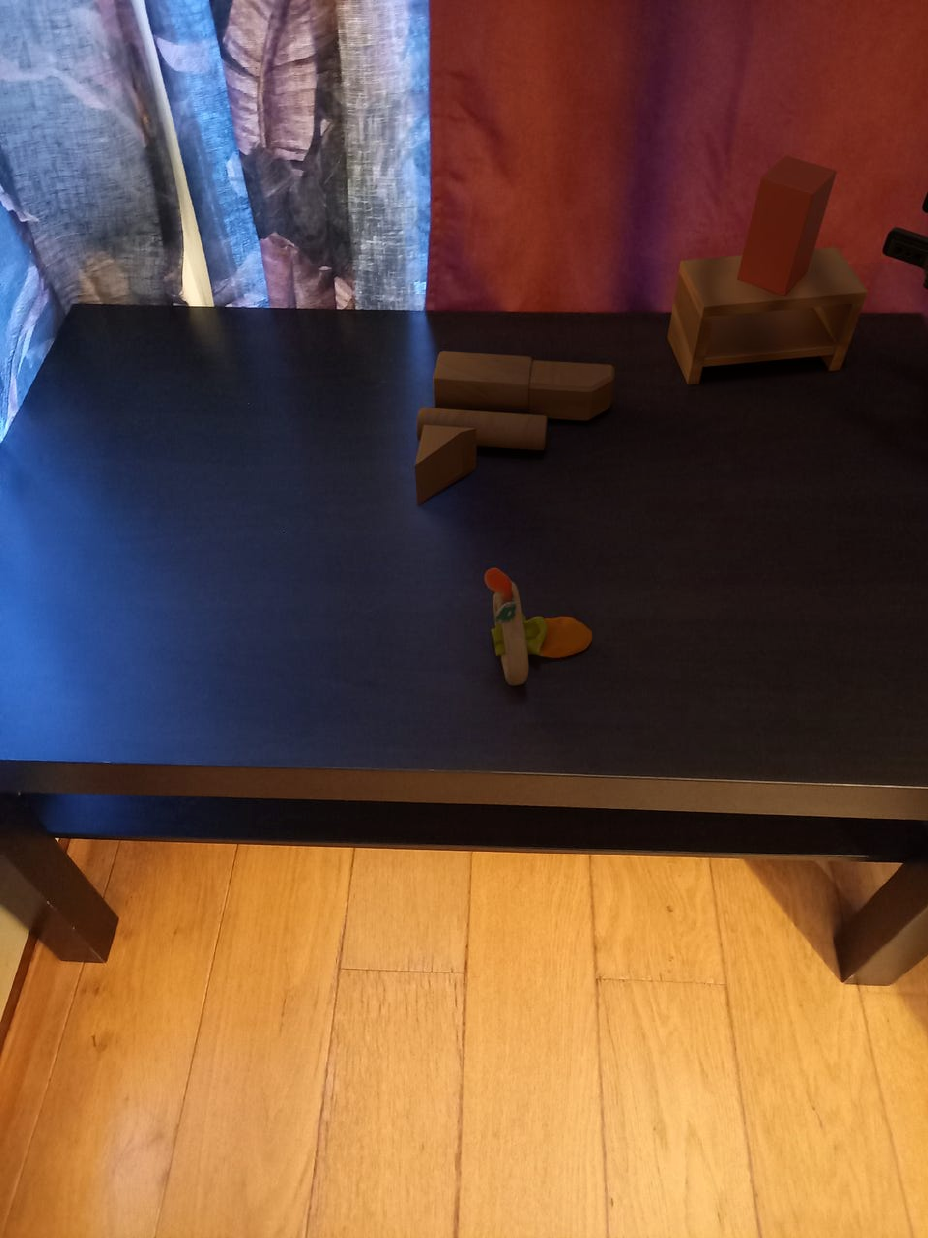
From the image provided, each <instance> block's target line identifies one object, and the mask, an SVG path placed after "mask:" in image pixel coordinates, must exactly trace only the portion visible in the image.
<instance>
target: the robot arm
mask: <svg viewBox="0 0 928 1238" xmlns="http://www.w3.org/2000/svg"><path fill="white" fill-rule="evenodd" d="M921 209H922V211H923V212H924V213H926V214H928V191H927V192H926V195H925V198H924V200H923V203H922V206H921ZM881 249H882V250H881V251H882V254H883V255H884V256H885V257H888V258H892V259H893V260H898V261H900V262H904V263H906V264H910V265H912V266H915V267H919V268H921V269H922V270H924V271H923V274H924V275H925V279H924V281H923V282H922V283H923V284H922V287H923V288H924V289H926V290H928V236H926V235H923V234H919V233H917V232H913V231H911V230H907V229H905V228H901V227H898V226H896V227H893V228H891V230H890V231H889V232H888V233H887V235H886V238H885V241H884V243H883V246H882V248H881Z"/></svg>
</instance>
